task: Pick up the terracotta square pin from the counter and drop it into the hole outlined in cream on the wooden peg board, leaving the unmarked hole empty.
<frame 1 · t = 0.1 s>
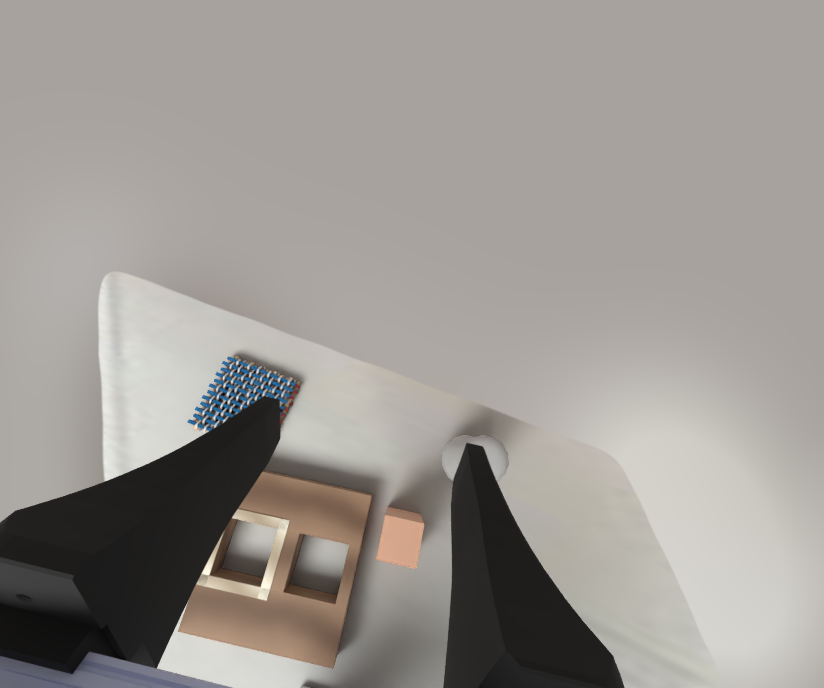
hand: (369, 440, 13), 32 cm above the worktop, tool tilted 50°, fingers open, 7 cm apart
wooden peg board: (287, 553, 40), on the worktop
woven mat: (251, 405, 46), on the worktop
pin: (400, 528, 41), on the worktop
salt shaker: (462, 460, 44), on the worktop
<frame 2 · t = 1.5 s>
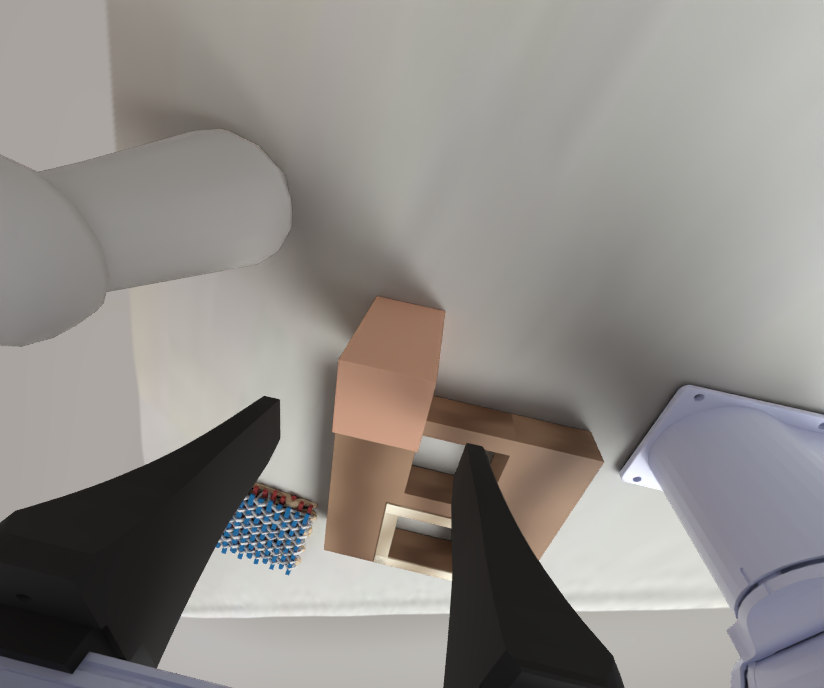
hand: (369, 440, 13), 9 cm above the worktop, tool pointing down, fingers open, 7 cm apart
wooden peg board: (442, 483, 27), on the worktop
woven mat: (261, 510, 33), on the worktop
pin: (405, 333, 21), on the worktop
salt shaker: (257, 195, 18), on the worktop
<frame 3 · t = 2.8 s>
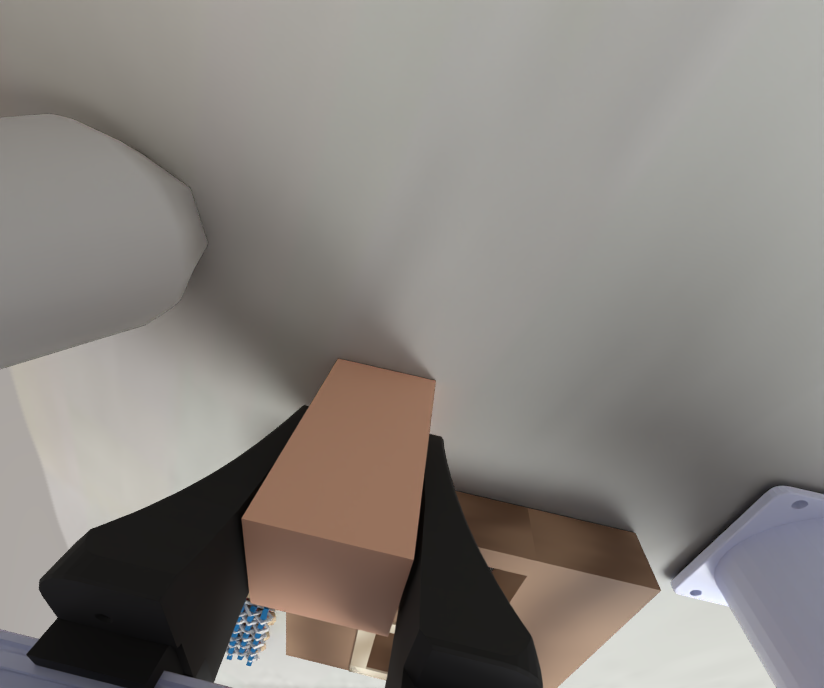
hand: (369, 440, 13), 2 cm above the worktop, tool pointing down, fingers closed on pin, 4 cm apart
wooden peg board: (435, 579, 21), on the worktop
woven mat: (215, 590, 27), on the worktop
pin: (380, 407, 15), on the worktop, touching gripper
salt shaker: (155, 218, 12), on the worktop
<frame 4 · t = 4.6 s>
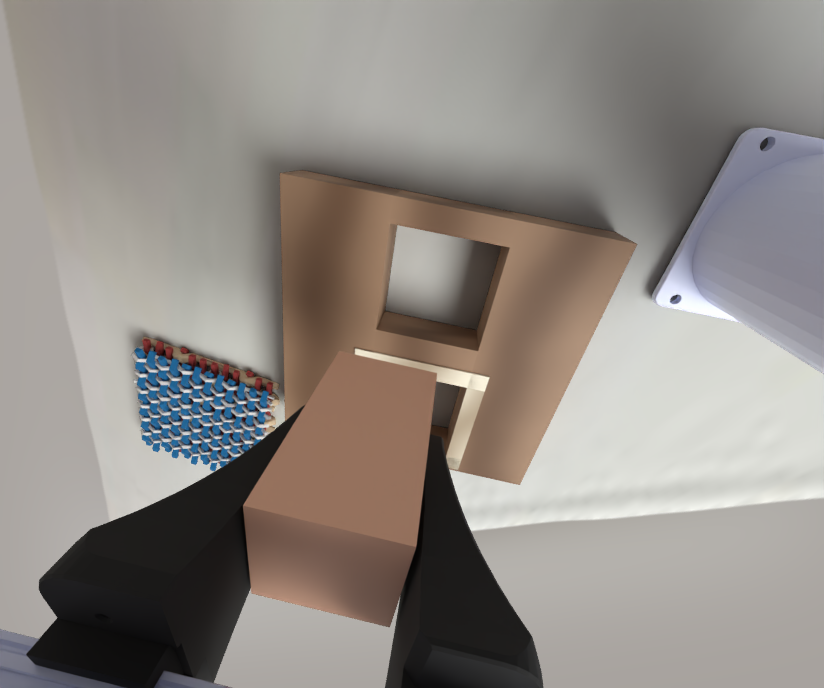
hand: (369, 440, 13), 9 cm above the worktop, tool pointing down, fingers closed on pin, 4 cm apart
wooden peg board: (427, 337, 22), on the worktop
woven mat: (216, 403, 28), on the worktop
pin: (381, 400, 15), point 7 cm above the worktop, touching gripper
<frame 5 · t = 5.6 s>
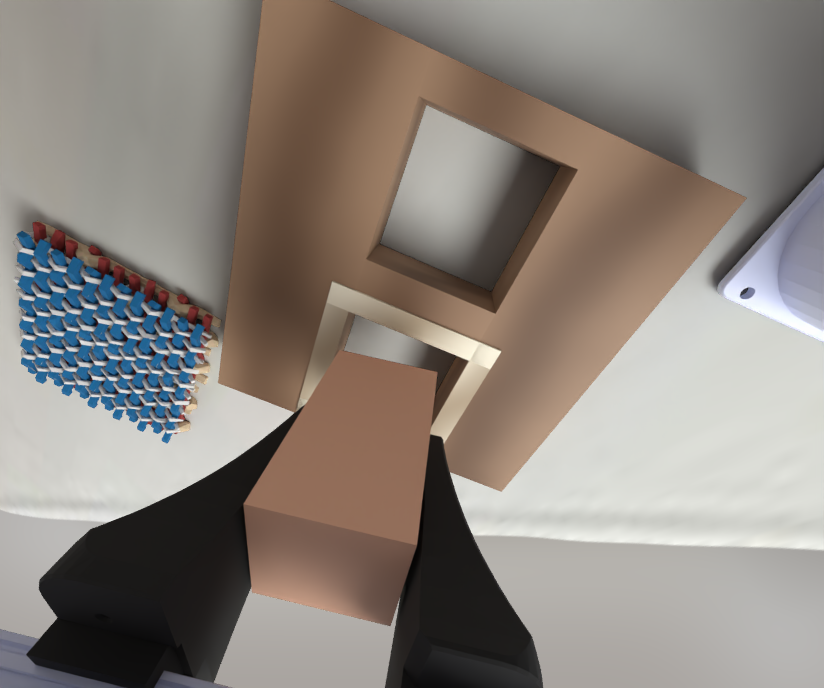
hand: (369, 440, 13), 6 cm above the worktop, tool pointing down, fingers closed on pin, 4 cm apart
wooden peg board: (426, 291, 17), on the worktop
woven mat: (135, 334, 21), on the worktop
pin: (381, 399, 15), point 4 cm above the worktop, touching gripper
when the fingers open (3 cm above the worktop, at t = 6.5 s): pin drops 1 cm, resting in wooden peg board.
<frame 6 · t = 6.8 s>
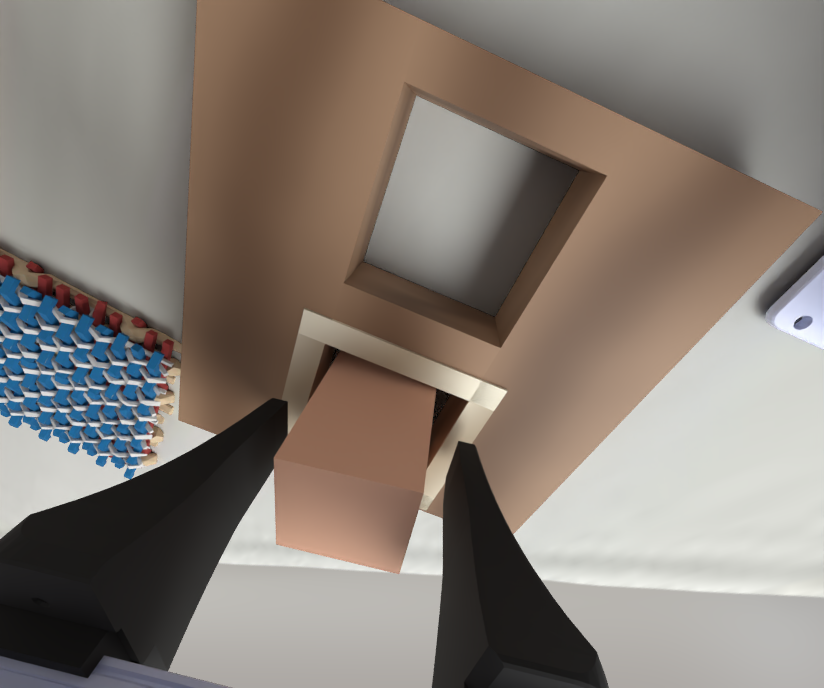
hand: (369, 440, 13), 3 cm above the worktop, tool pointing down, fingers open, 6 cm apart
wooden peg board: (418, 315, 14), on the worktop
woven mat: (91, 358, 19), on the worktop
pin: (388, 381, 16), resting in wooden peg board
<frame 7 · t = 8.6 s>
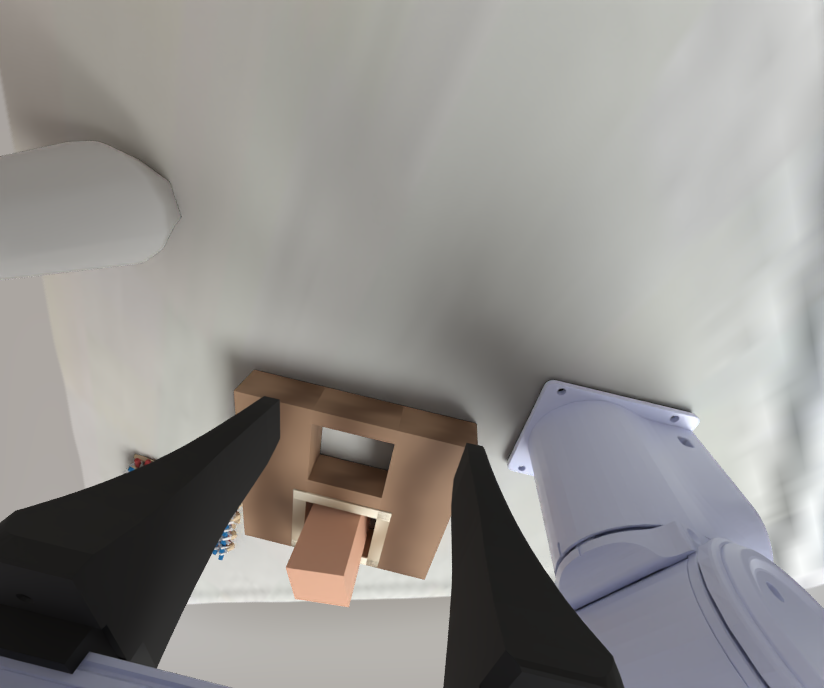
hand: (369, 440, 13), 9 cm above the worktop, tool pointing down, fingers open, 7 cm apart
wooden peg board: (352, 472, 28), on the worktop
woven mat: (193, 497, 34), on the worktop
pin: (347, 500, 30), resting in wooden peg board
salt shaker: (148, 200, 20), on the worktop
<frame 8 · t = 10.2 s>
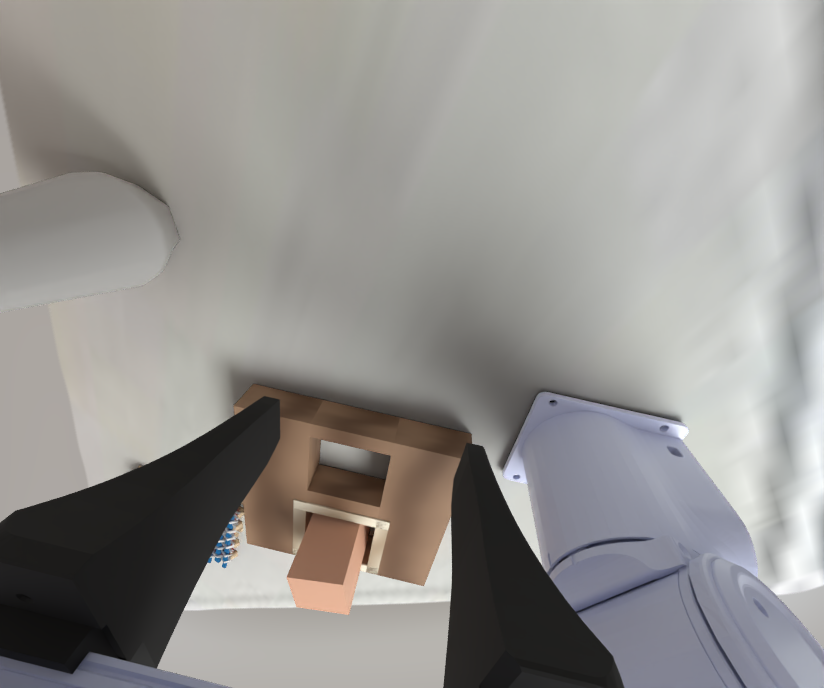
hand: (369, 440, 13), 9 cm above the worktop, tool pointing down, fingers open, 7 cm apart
wooden peg board: (351, 481, 29), on the worktop
woven mat: (197, 506, 35), on the worktop
pin: (347, 508, 31), resting in wooden peg board
salt shaker: (148, 223, 20), on the worktop
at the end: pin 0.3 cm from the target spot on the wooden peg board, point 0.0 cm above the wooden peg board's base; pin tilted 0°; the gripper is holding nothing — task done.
